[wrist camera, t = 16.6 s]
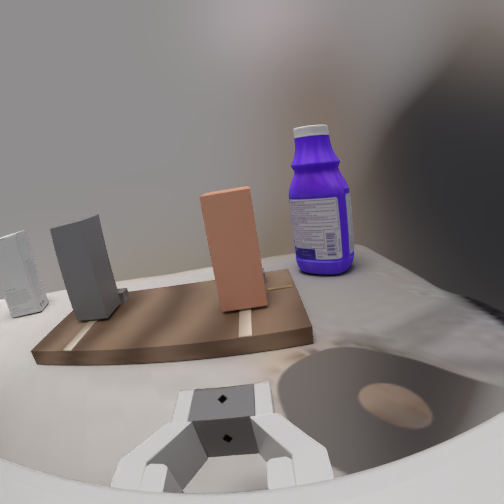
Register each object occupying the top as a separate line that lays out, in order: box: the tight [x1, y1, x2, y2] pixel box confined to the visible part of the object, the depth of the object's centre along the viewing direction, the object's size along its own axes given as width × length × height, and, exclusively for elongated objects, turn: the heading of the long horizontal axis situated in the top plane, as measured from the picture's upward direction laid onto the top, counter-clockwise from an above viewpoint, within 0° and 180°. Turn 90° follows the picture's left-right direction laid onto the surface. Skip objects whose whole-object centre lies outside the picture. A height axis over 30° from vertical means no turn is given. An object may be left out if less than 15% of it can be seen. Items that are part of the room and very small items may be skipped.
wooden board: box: [31, 268, 313, 365], centre depth 30 cm, size 26×14×3 cm, turn 91°
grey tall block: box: [50, 215, 121, 321], centre depth 29 cm, size 4×4×10 cm
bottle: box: [289, 125, 354, 274], centre depth 36 cm, size 7×6×17 cm
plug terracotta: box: [200, 186, 268, 312], centre depth 27 cm, size 4×4×10 cm
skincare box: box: [0, 230, 48, 317], centre depth 37 cm, size 6×4×12 cm
